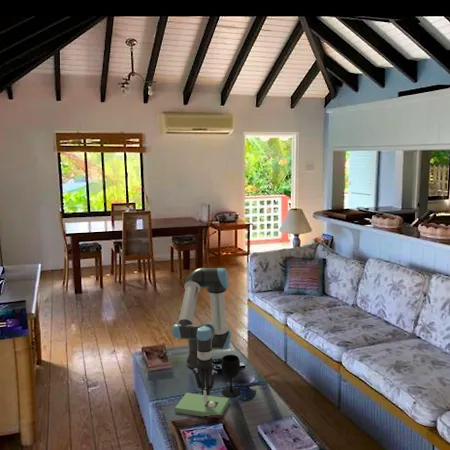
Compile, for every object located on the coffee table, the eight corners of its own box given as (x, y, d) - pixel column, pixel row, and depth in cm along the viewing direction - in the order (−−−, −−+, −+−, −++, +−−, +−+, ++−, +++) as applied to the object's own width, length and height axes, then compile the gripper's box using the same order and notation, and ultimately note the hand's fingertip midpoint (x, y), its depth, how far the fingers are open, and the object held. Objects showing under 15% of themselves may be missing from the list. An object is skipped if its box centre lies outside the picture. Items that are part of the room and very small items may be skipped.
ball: (210, 407, 246) (207, 400, 246) (217, 406, 245) (215, 399, 245) (208, 411, 243) (205, 404, 242) (215, 410, 242) (213, 402, 241)
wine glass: (224, 398, 255) (223, 363, 252) (219, 389, 265) (218, 355, 262) (242, 395, 258) (242, 360, 255) (237, 386, 268) (236, 353, 265)
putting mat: (186, 397, 257) (186, 392, 257) (228, 402, 250) (228, 398, 250) (175, 412, 242) (174, 407, 242) (219, 418, 235) (219, 414, 235)
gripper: (190, 359, 240) (191, 402, 244) (214, 362, 236) (215, 406, 240) (195, 353, 247) (196, 395, 251) (219, 355, 243) (220, 399, 247)
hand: (205, 400), depth 245 cm, fingers closed
